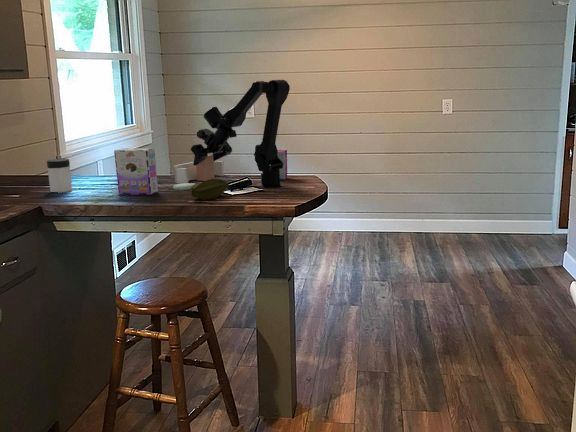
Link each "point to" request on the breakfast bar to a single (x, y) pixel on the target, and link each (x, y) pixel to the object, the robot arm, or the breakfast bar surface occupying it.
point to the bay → (194, 171)
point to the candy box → (136, 171)
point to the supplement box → (283, 157)
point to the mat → (183, 186)
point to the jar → (59, 175)
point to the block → (205, 169)
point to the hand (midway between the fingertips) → (202, 163)
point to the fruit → (208, 189)
